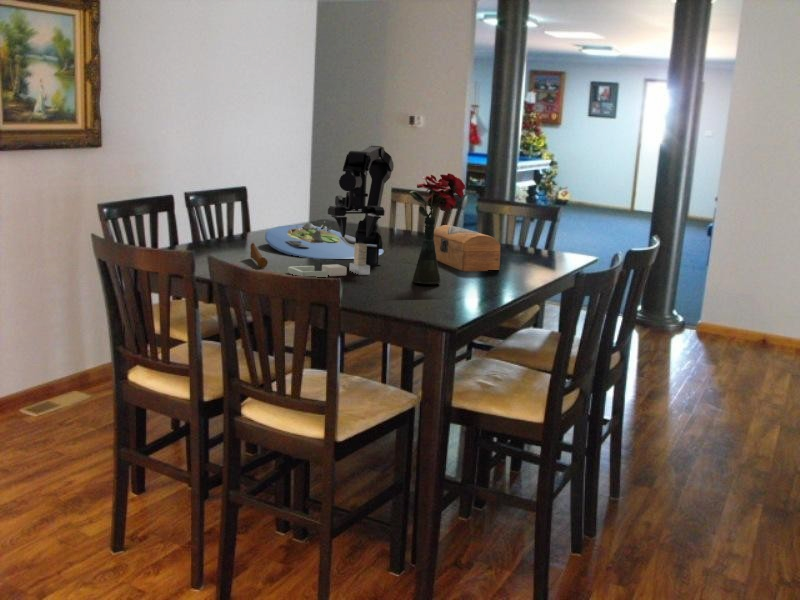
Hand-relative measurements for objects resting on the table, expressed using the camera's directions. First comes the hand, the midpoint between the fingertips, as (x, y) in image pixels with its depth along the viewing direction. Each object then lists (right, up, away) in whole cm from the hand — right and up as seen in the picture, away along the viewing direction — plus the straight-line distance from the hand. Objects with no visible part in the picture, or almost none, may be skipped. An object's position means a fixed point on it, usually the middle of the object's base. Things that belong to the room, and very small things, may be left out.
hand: (355, 236), depth 271 cm
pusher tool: (+1, -12, +2) cm, 12 cm away
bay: (-15, -13, -8) cm, 21 cm away
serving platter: (-15, -4, +45) cm, 47 cm away
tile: (-7, -13, -3) cm, 15 cm away
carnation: (+25, -15, -6) cm, 30 cm away
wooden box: (+37, -9, +31) cm, 49 cm away
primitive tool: (-35, -10, +11) cm, 38 cm away
